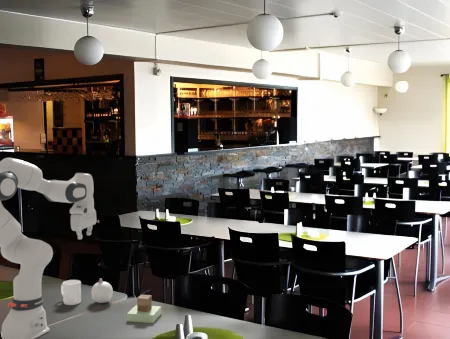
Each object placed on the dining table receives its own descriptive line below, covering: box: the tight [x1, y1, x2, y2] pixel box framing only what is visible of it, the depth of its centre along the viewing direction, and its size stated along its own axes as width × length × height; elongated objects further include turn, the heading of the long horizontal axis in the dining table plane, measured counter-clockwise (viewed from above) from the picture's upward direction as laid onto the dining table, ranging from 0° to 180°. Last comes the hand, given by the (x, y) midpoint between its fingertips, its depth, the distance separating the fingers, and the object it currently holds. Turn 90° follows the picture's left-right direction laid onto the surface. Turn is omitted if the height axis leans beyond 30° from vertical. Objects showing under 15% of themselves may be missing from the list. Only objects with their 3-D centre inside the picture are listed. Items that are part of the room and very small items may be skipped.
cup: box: [60, 279, 82, 306], centre depth 270 cm, size 8×12×10 cm
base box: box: [126, 304, 162, 324], centre depth 249 cm, size 12×12×4 cm
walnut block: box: [136, 294, 153, 312], centre depth 249 cm, size 5×5×6 cm
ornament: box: [90, 278, 114, 304], centre depth 269 cm, size 10×10×12 cm
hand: (84, 237), depth 258 cm, fingers open, 8 cm apart
